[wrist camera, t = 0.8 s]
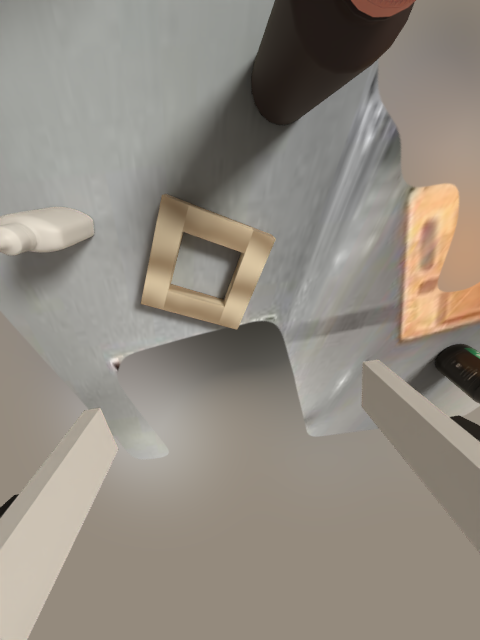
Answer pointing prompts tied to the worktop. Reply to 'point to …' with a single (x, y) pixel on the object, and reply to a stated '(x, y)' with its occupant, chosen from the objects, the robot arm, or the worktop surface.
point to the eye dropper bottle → (43, 230)
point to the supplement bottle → (461, 368)
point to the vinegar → (319, 50)
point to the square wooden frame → (216, 229)
